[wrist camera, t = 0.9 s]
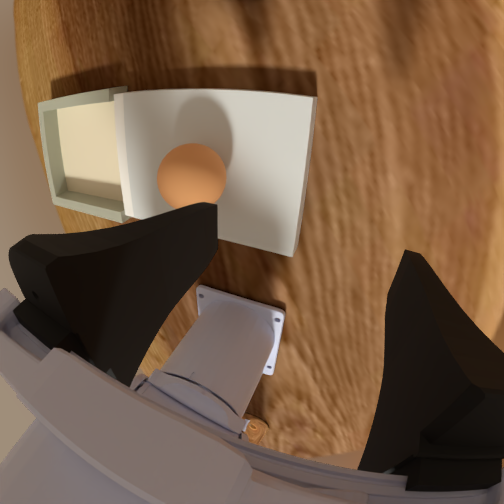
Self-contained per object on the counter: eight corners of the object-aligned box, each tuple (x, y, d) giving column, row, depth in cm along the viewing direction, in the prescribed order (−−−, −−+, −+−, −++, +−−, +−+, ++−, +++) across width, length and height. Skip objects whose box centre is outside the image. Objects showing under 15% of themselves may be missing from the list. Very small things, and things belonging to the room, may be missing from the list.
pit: (137, 213, 24) (122, 223, 23) (66, 196, 27) (53, 204, 26) (127, 85, 18) (108, 88, 17) (53, 98, 21) (37, 103, 20)
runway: (297, 245, 20) (292, 257, 19) (136, 207, 24) (125, 215, 23) (317, 97, 15) (313, 97, 14) (127, 91, 18) (113, 94, 17)
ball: (236, 202, 19) (205, 231, 15) (182, 192, 20) (146, 216, 16) (238, 140, 16) (204, 157, 13) (181, 135, 17) (139, 150, 14)
